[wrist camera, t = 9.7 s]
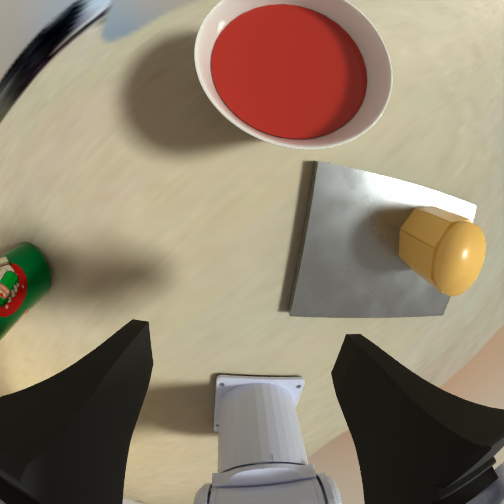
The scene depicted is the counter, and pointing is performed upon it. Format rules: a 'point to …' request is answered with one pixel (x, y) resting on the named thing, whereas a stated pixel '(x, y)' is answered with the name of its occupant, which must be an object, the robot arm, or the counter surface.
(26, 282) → the soda can
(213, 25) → the candle
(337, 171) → the plate
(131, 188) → the counter surface
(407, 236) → the orange cap
